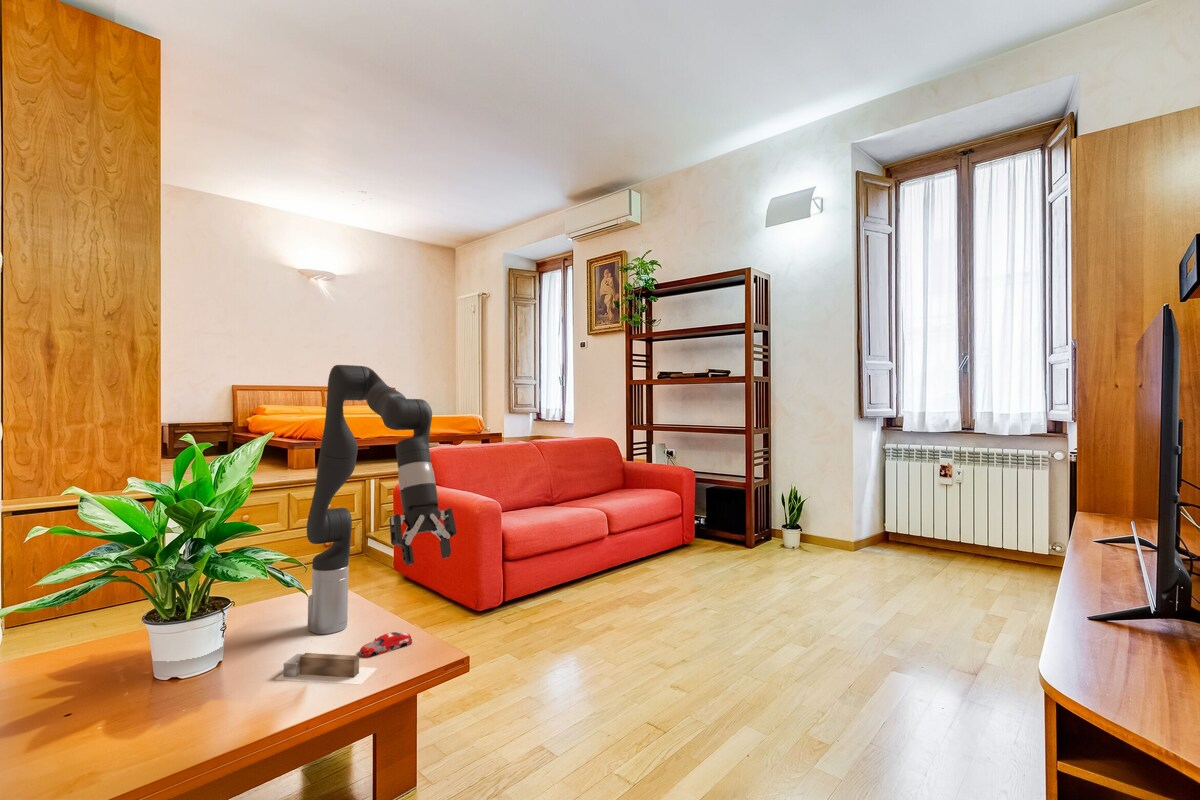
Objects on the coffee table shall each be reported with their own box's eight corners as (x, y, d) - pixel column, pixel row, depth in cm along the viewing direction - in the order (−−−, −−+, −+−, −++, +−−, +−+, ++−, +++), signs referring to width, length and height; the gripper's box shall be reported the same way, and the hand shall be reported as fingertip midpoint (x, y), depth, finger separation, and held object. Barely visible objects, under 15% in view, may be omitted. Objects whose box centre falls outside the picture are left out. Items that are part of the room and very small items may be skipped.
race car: (364, 663, 140) (364, 646, 140) (355, 656, 144) (355, 640, 144) (415, 647, 150) (415, 632, 150) (405, 641, 153) (405, 626, 154)
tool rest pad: (274, 682, 129) (274, 679, 129) (296, 666, 137) (296, 663, 137) (360, 687, 128) (360, 684, 128) (377, 670, 136) (377, 668, 136)
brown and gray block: (283, 676, 131) (283, 658, 131) (296, 666, 136) (297, 649, 136) (350, 680, 130) (351, 662, 130) (361, 670, 135) (362, 653, 135)
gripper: (437, 487, 133) (448, 558, 129) (378, 492, 123) (388, 569, 119) (455, 479, 128) (466, 552, 124) (395, 483, 118) (406, 564, 114)
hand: (428, 561), depth 121 cm, fingers open, 8 cm apart
